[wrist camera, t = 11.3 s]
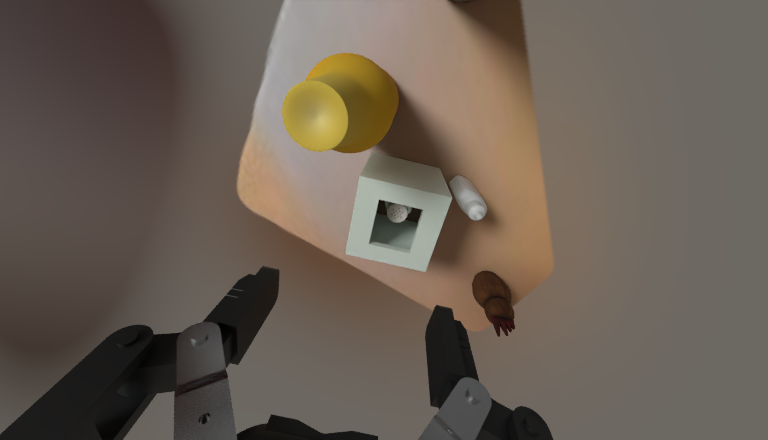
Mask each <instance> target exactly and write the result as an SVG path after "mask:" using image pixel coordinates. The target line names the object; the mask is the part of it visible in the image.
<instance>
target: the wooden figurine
mask: <svg viewBox="0 0 768 440" xmlns="http://www.w3.org/2000/svg"><path fill="white" fill-rule="evenodd" d="M472 288H473V295H474V298H475V300H476V301H477V302H478V303H479V305H480V306H481V307H483V308H484V309H485V314H486V316H487V318H488V320H489V321H490V322H491V323H492V324H493V325H494V328H495V330H496V333H497V335H498V336H500V327H501V328H502V330H503V331H504V333H505V335H506V336H508V332H507V329H508V330H509V332H511V331H512V329H515V325H514V321H513V319H514V311H513V308H512V306H511V305H510V303H511V293H510V290H509V288H508V286H507V285H506V284H505V283H504V282H503V281H502V280H501V279H500V278H499V277H498V276H497V275H496V274H494V273H492V272H490V271H482V272H480V273H478V274H477V275H476V276H475V278H474V280H473V283H472ZM511 328H512V329H511Z"/></svg>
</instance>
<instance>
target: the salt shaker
mask: <svg viewBox="0 0 768 440" xmlns="http://www.w3.org/2000/svg"><path fill="white" fill-rule="evenodd" d="M385 205H386V209H387V216H388V218H389V220H391V221H393V222H397V223H400V222H402V221H404V220H405V219H406V218H407V215H408V214H409V213H410V212H411V210H412V207H409V206H405V205H401V204H396V203H392V202H388V201H385Z"/></svg>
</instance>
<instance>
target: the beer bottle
mask: <svg viewBox="0 0 768 440" xmlns="http://www.w3.org/2000/svg"><path fill="white" fill-rule="evenodd" d="M398 104H399V94H398V89H397V86H396V84H395V82H394V80H393V79H392V77H391V76H390V75H389V74H388V73H387V72H386V71H385V70H383V69H381V68H380V67H379V66H378V65H377V64H375V63H374V62H373V61H371V60H370V59H368V58H366V57H364V56H361V55H357V54H353V53H341V54H336V55H332V56H330V57H327V58H325V59H324V60H322V61H321V62H319V63H318V64H317V65H316V66H315V67H314V68H313V69H312V70H311V71H310V73H309V75H308V76H307V78H306V80H305V81H303V82H301V83H299V84H297V85H295V86H294V87H293V88H292V89H291V90H290V91H289V92H288V94H287V95H286V97H285V100H284V103H283V109H282V115H283V121H284V125H285V127H286V130H287V131H288V133H289V135H290V136H291V137H292V139H293V140H294V141H295V142H296V143H298V144H299V145H300V146H302V147H303V148H306V149H308V150H311V151H318V152H321V151H327V150H331V149H332V150H335V151H338V152H342V153H357V152H362V151H365V150H368V149H370V148H371V147H373V146H375V145H376V144H377V143H379V142H380V141H381V140H382V139H383V138H384V136H385V135H386V134H387V133H388V131H389V129H390V127H391V125H392V122H393V119H394V116H395V114H396V112H397V109H398Z"/></svg>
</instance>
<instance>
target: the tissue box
mask: <svg viewBox="0 0 768 440" xmlns="http://www.w3.org/2000/svg"><path fill="white" fill-rule="evenodd" d="M379 200H384V201H388V202H392V203H396V204H401V205H405V206H409V207H413V208H418V209H422V211H421V214H420V217H419V220H418V223H415V222H411V221H407V220H404V221H402V222H400V223H397V222H393V221H391V220H389V218H388V216H385V215H381V214H377V213H376V211H377V206H378V202H379ZM451 200H452V196H451V193H450V191H449V189H448V186H447V184H446V182H445V179H444V177H443V175H442V172H441V170H440V168H437V167H433V166H429V165H424V164H420V163H416V162H412V161H408V160H403V159H399V158H395V157H391V156H387V155H383V154H378V153H374V152H372V153H371V155H370V157H369V159H368V161H367V163H366V165H365V167H364V169H363V171H362V173H361V175H360V178H359V183H358V188H357V194H356V199H355V204H354V210H353V215H352V220H351V226H350V231H349V236H348V242H347V247H346V252H345V254H348V255H352V256H357V257H361V258H366V259H370V260H374V261H379V262H383V263H388V264H392V265H397V266H401V267H405V268H410V269H414V270H419V271H423V272H426V269H427V266H428V263H429V261H430V258H431V255H432V252H433V250H434V247H435V244H436V241H437V239H438V236H439V233H440V230H441V228H442V225H443V222H444V219H445V217H446V214H447V211H448V209H449V206H450V203H451Z"/></svg>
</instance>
